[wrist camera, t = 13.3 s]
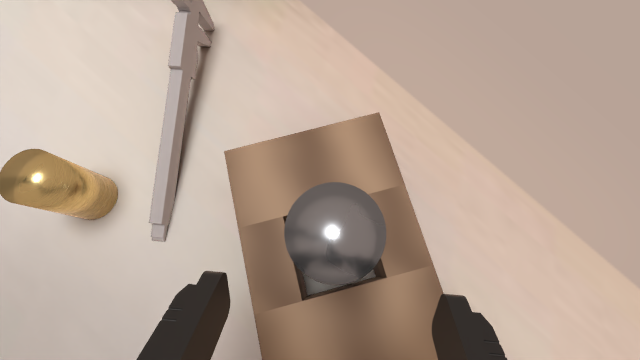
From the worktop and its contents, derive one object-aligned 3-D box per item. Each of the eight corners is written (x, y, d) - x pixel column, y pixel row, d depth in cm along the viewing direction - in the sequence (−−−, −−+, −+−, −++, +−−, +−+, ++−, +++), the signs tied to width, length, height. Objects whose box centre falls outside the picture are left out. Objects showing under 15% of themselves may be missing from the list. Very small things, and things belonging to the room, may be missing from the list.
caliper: (205, 28, 30) (174, -33, 24) (216, 28, 30) (188, -33, 24) (154, 240, 24) (97, 230, 18) (167, 242, 24) (114, 232, 18)
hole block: (285, 390, 21) (273, 420, 17) (242, 171, 26) (224, 151, 21) (440, 345, 21) (468, 363, 17) (371, 139, 26) (379, 112, 22)
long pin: (315, 284, 23) (297, 297, 10) (303, 236, 24) (274, 195, 11) (362, 271, 23) (400, 269, 11) (348, 224, 24) (368, 171, 12)
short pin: (74, 224, 25) (-4, 210, 19) (72, 182, 26) (-1, 156, 20) (119, 213, 25) (55, 195, 19) (116, 171, 26) (55, 142, 20)
